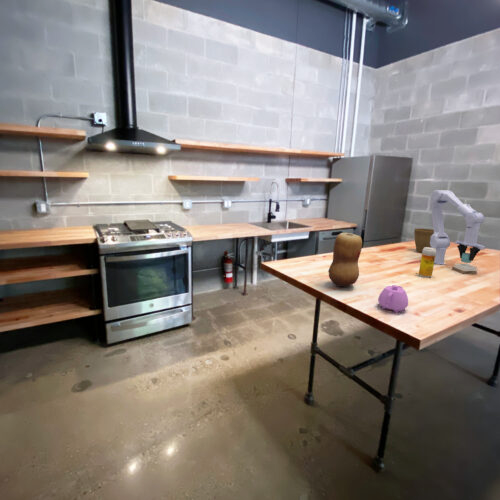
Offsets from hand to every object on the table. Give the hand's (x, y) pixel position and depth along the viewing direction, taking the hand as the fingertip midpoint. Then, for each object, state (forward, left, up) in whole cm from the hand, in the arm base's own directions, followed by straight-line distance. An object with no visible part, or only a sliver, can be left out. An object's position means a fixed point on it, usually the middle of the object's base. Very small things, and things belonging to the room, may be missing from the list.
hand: (466, 259), depth 164 cm
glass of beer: (-20, -20, -8) cm, 29 cm away
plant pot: (-18, +41, -8) cm, 45 cm away
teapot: (-34, -73, -8) cm, 81 cm away
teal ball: (0, 0, -1) cm, 1 cm away
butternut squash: (-56, -58, -8) cm, 81 cm away
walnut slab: (0, 0, -8) cm, 8 cm away
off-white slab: (0, 0, -6) cm, 6 cm away
